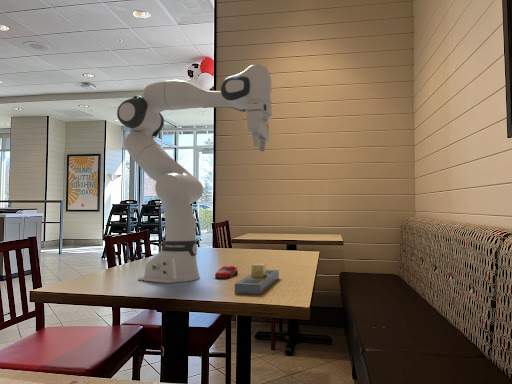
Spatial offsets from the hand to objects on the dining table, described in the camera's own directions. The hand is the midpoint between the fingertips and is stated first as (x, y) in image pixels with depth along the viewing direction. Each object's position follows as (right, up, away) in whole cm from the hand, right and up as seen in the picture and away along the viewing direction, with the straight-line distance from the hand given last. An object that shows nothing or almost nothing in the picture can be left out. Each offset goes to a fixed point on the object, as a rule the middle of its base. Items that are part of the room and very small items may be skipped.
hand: (259, 149), depth 134 cm
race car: (-13, -48, +11) cm, 51 cm away
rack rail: (0, -47, -7) cm, 47 cm away
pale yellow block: (0, -47, -7) cm, 47 cm away
